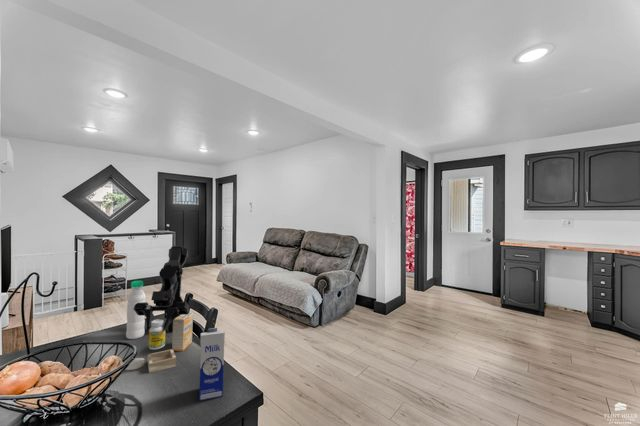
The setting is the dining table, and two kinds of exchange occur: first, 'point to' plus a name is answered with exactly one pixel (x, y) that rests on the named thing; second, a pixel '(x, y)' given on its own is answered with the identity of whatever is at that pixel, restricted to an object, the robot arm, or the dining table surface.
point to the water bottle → (133, 320)
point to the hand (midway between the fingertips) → (155, 330)
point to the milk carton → (211, 364)
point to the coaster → (136, 364)
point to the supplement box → (182, 332)
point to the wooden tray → (166, 360)
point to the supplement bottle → (156, 334)
